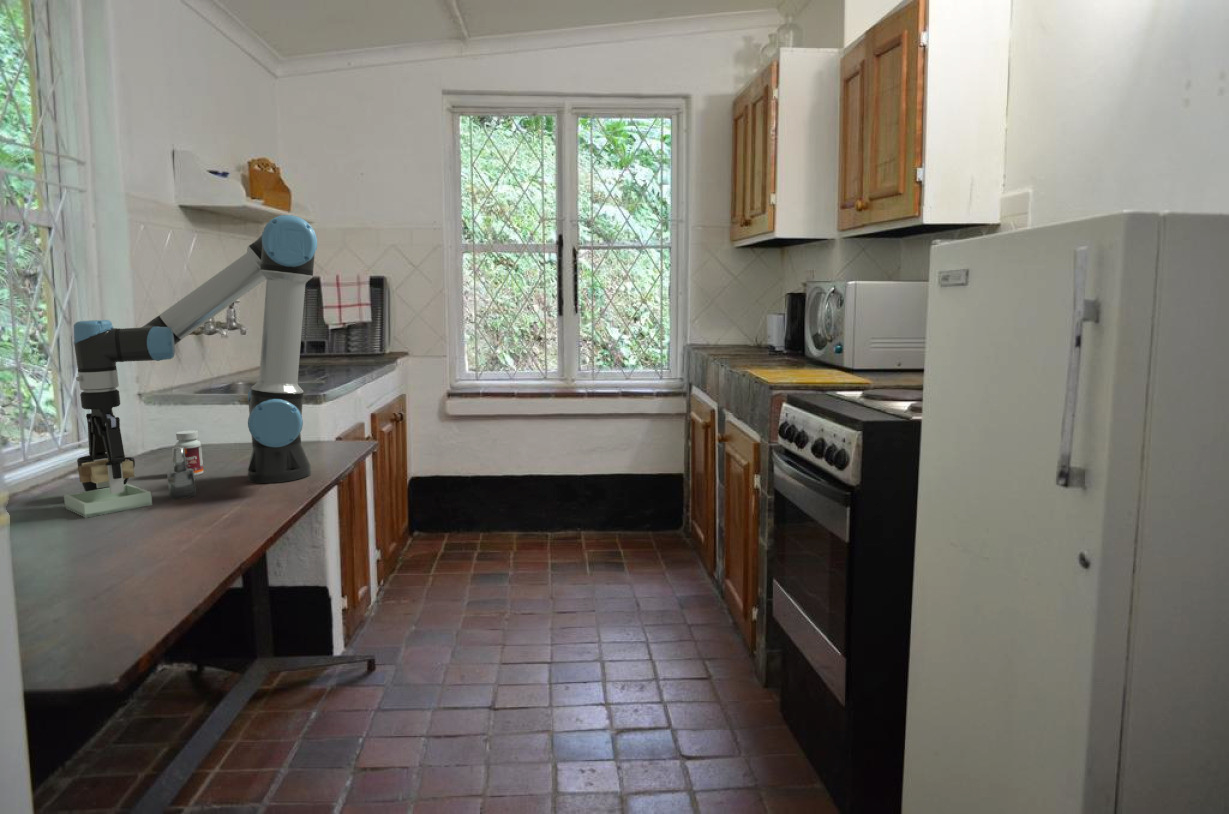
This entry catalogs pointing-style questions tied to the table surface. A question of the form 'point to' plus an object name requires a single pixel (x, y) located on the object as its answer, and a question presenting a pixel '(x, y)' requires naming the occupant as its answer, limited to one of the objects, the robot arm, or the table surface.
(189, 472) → the grey piece
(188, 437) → the pill bottle
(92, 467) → the wooden rectangular frame
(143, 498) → the tray
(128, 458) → the mug
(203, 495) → the table surface
